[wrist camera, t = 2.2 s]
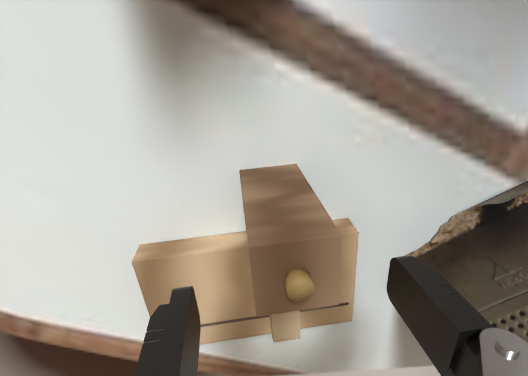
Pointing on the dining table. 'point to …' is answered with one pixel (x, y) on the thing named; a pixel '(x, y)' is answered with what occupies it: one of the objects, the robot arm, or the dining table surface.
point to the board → (231, 282)
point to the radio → (487, 258)
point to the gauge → (289, 247)
